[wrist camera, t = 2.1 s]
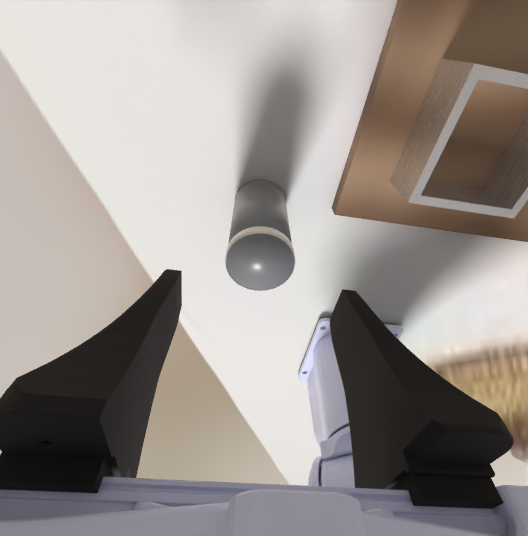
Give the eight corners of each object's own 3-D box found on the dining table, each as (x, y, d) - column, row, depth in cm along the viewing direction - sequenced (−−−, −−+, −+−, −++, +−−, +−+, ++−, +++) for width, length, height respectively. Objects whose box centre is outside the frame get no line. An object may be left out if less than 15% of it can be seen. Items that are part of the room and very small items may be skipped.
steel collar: (483, 196, 20) (514, 218, 18) (389, 181, 19) (408, 202, 17) (556, 82, 16) (607, 90, 14) (441, 58, 16) (474, 63, 13)
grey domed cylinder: (280, 230, 23) (287, 294, 17) (231, 223, 22) (222, 287, 17) (290, 183, 20) (302, 239, 15) (236, 175, 20) (228, 230, 15)
